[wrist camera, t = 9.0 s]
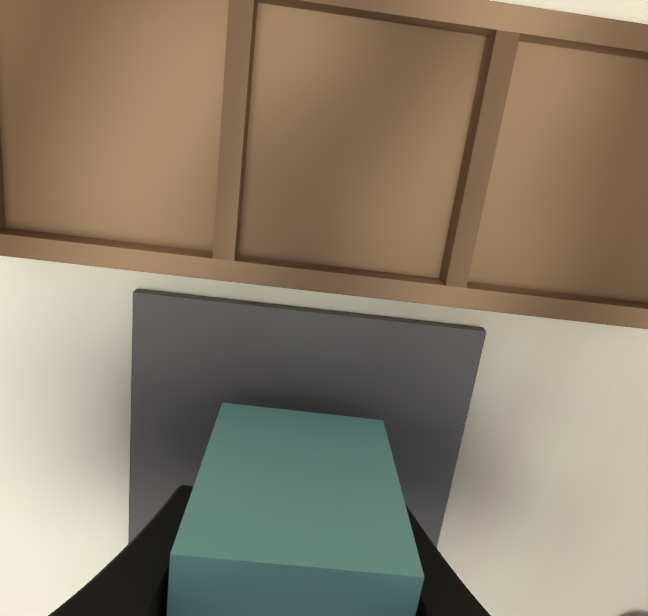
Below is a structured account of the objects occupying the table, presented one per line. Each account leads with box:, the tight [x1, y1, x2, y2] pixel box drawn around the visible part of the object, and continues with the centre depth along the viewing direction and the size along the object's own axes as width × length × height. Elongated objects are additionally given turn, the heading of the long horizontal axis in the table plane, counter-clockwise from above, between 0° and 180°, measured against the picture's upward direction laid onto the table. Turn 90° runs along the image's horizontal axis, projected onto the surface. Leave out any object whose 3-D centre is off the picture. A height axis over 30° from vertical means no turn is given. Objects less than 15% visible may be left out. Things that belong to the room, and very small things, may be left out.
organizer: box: [0, 0, 648, 329], centre depth 12 cm, size 17×6×1 cm, turn 83°
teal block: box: [166, 403, 424, 616], centre depth 11 cm, size 4×4×5 cm
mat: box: [129, 289, 486, 548], centre depth 15 cm, size 9×9×1 cm
